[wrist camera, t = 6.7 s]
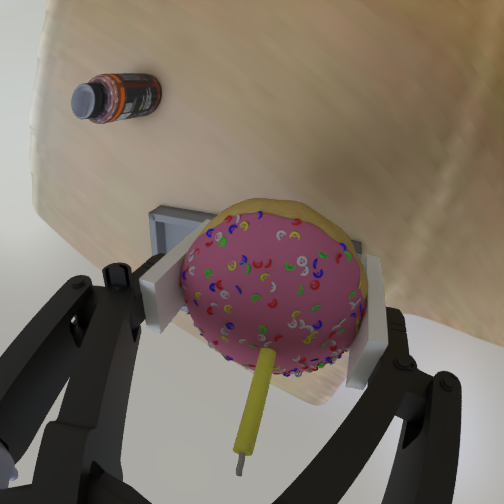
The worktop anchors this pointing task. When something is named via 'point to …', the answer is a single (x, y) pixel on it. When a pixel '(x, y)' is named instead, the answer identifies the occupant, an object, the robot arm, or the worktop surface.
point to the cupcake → (273, 295)
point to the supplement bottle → (116, 97)
